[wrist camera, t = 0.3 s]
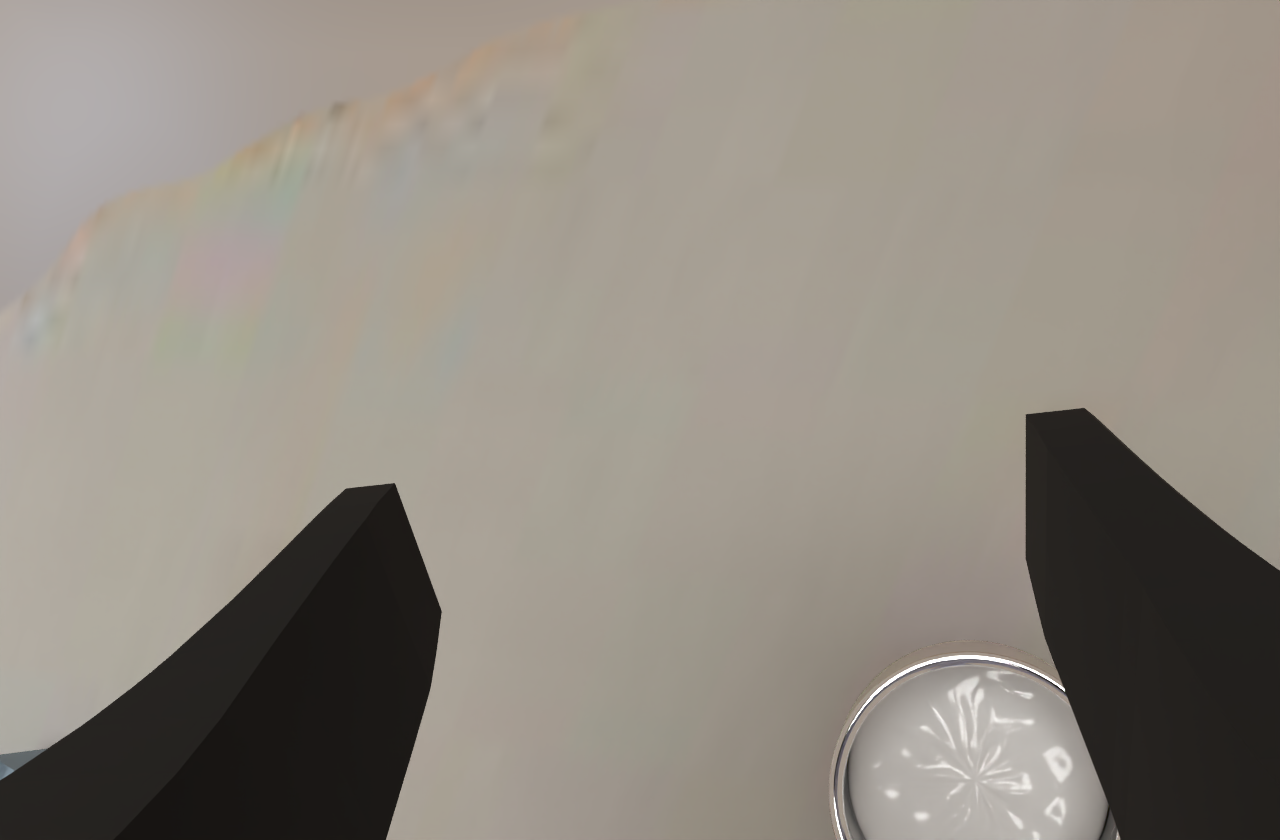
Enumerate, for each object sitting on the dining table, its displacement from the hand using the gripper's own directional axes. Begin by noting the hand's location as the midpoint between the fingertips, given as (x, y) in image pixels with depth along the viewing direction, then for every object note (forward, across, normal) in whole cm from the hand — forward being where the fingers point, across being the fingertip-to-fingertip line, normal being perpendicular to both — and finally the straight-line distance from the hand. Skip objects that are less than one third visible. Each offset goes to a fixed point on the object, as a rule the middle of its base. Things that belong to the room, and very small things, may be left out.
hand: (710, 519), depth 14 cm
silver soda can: (+18, -5, +25) cm, 31 cm away
